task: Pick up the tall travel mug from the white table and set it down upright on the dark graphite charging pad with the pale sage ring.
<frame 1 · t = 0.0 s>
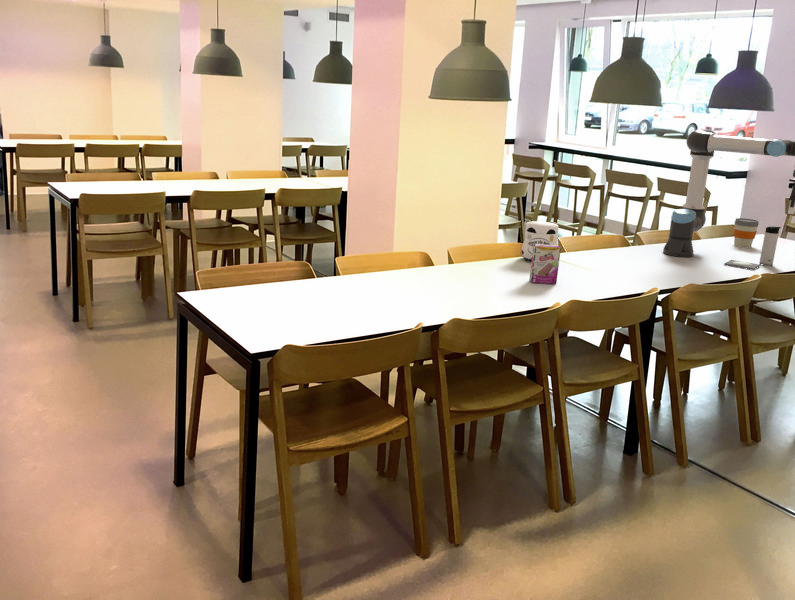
hand: (794, 212, 380), 28 cm above the table, tool pointing down, fingers open, 13 cm apart
charging pad: (742, 265, 386), on the table
travel mug: (766, 265, 392), on the table
reusable coffee cup: (742, 246, 440), on the table
candy bar box: (542, 283, 330), on the table
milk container: (538, 260, 373), on the table
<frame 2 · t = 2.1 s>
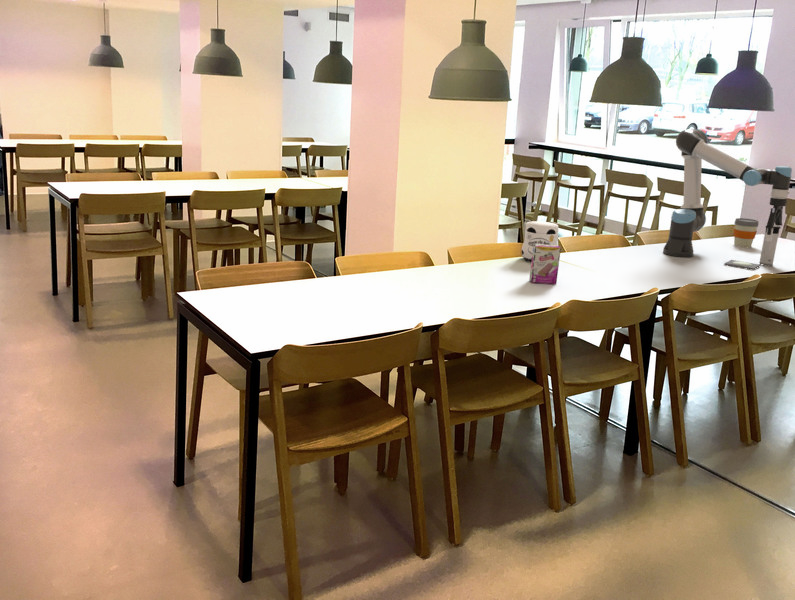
hand: (771, 239, 388), 13 cm above the table, tool pointing down, fingers open, 13 cm apart
nothing on the table moved.
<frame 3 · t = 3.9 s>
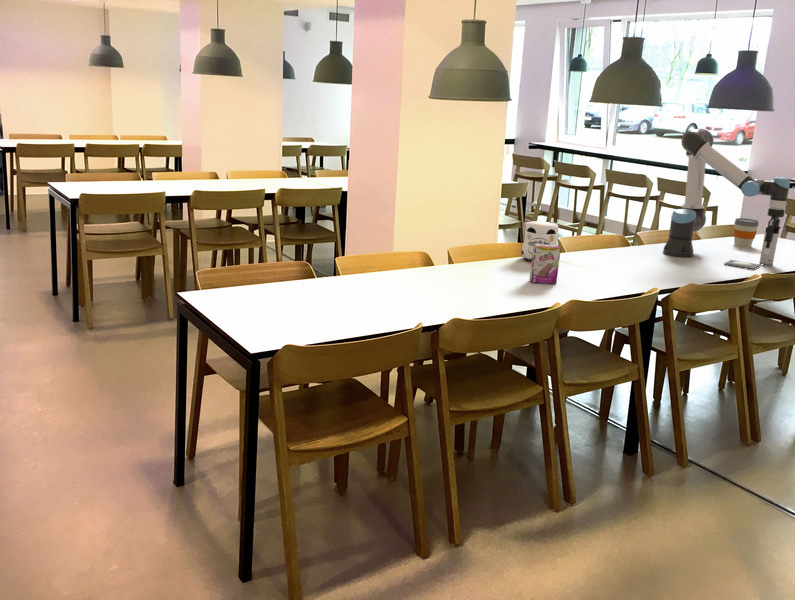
hand: (768, 253, 390), 6 cm above the table, tool pointing down, fingers closed on travel mug, 6 cm apart
travel mug: (766, 265, 392), on the table, touching gripper
everything else where it was.
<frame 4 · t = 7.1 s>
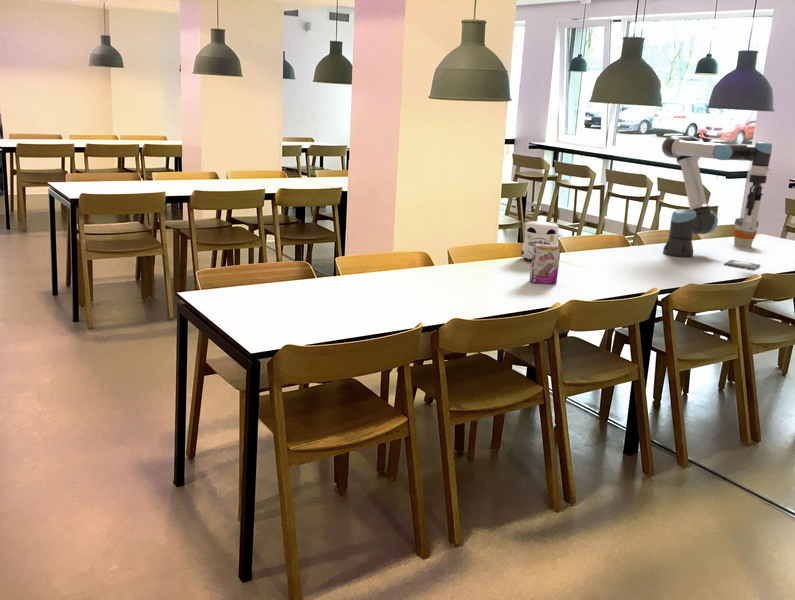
hand: (750, 221, 380), 23 cm above the table, tool pointing down, fingers closed on travel mug, 6 cm apart
travel mug: (748, 233, 382), point 17 cm above the table, touching gripper
everything else where it was.
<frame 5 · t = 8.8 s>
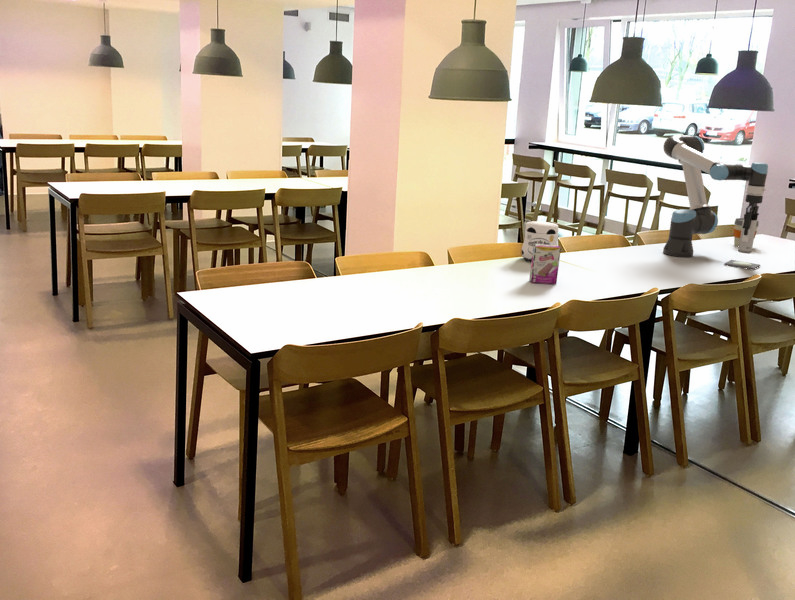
hand: (746, 240, 383), 13 cm above the table, tool pointing down, fingers closed on travel mug, 6 cm apart
travel mug: (744, 252, 384), point 7 cm above the table, touching gripper
everything else where it was.
when the fingers open (9 cm above the table, at t = 10.4 s): travel mug drops 2 cm, resting on charging pad.
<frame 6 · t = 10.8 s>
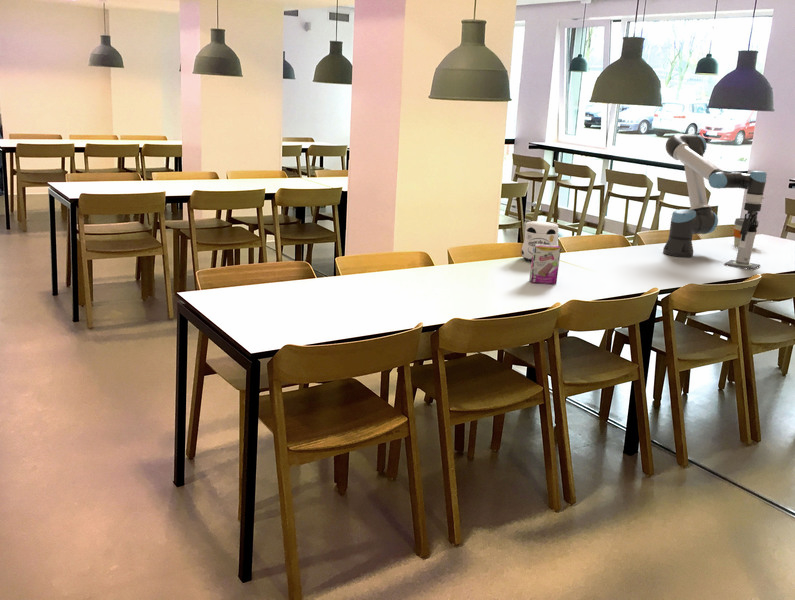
hand: (745, 245, 383), 10 cm above the table, tool pointing down, fingers open, 12 cm apart
travel mug: (742, 263, 386), point 1 cm above the table, touching charging pad
everything else where it was.
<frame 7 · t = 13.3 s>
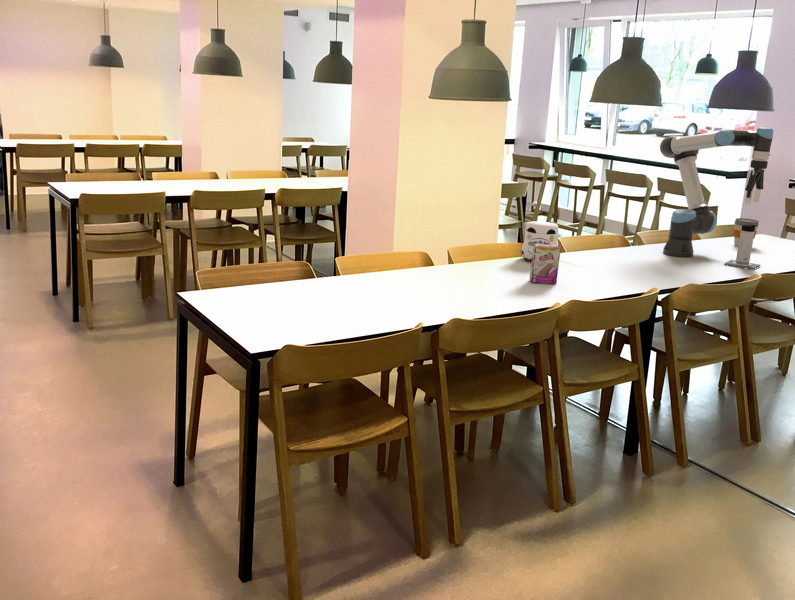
hand: (751, 203, 380), 31 cm above the table, tool pointing down, fingers open, 13 cm apart
nothing on the table moved.
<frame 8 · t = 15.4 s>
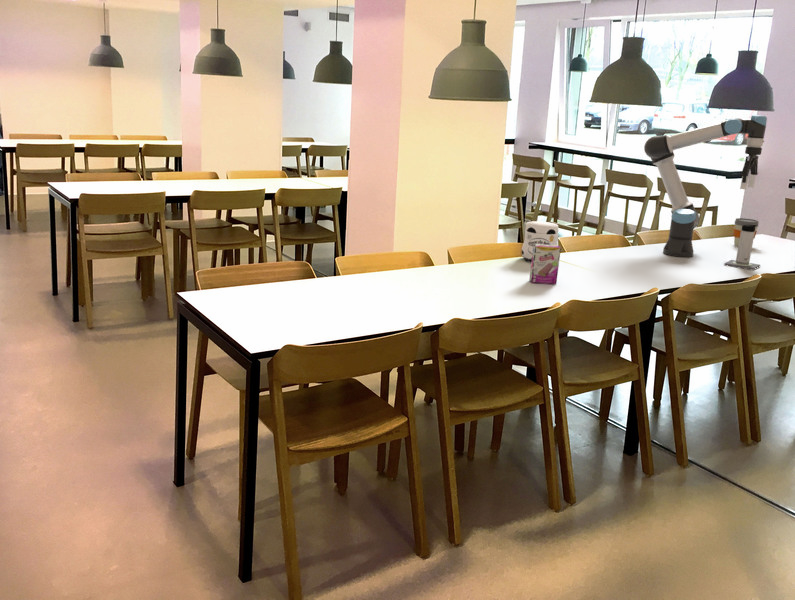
hand: (746, 188, 396), 37 cm above the table, tool pointing down, fingers open, 13 cm apart
nothing on the table moved.
at the end: travel mug inside the target area on the charging pad (0.0 cm from its centre), point 1.0 cm above the charging pad's base; travel mug tilted 0°; travel mug touching charging pad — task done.
